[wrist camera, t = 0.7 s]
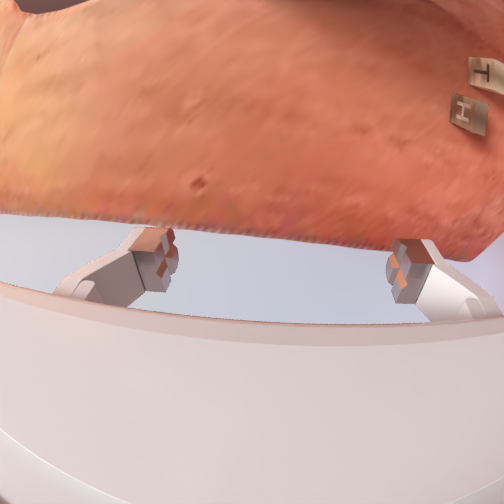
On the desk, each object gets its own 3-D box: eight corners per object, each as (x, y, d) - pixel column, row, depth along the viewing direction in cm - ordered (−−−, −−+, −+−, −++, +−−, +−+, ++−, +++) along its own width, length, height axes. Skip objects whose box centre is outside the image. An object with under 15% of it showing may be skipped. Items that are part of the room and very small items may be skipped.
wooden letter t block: (468, 56, 29) (494, 58, 23) (479, 61, 29) (505, 64, 22) (468, 84, 33) (493, 89, 26) (478, 88, 33) (504, 95, 26)
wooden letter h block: (451, 92, 35) (476, 99, 28) (463, 96, 35) (488, 104, 28) (449, 121, 39) (472, 132, 32) (460, 124, 38) (484, 136, 31)
